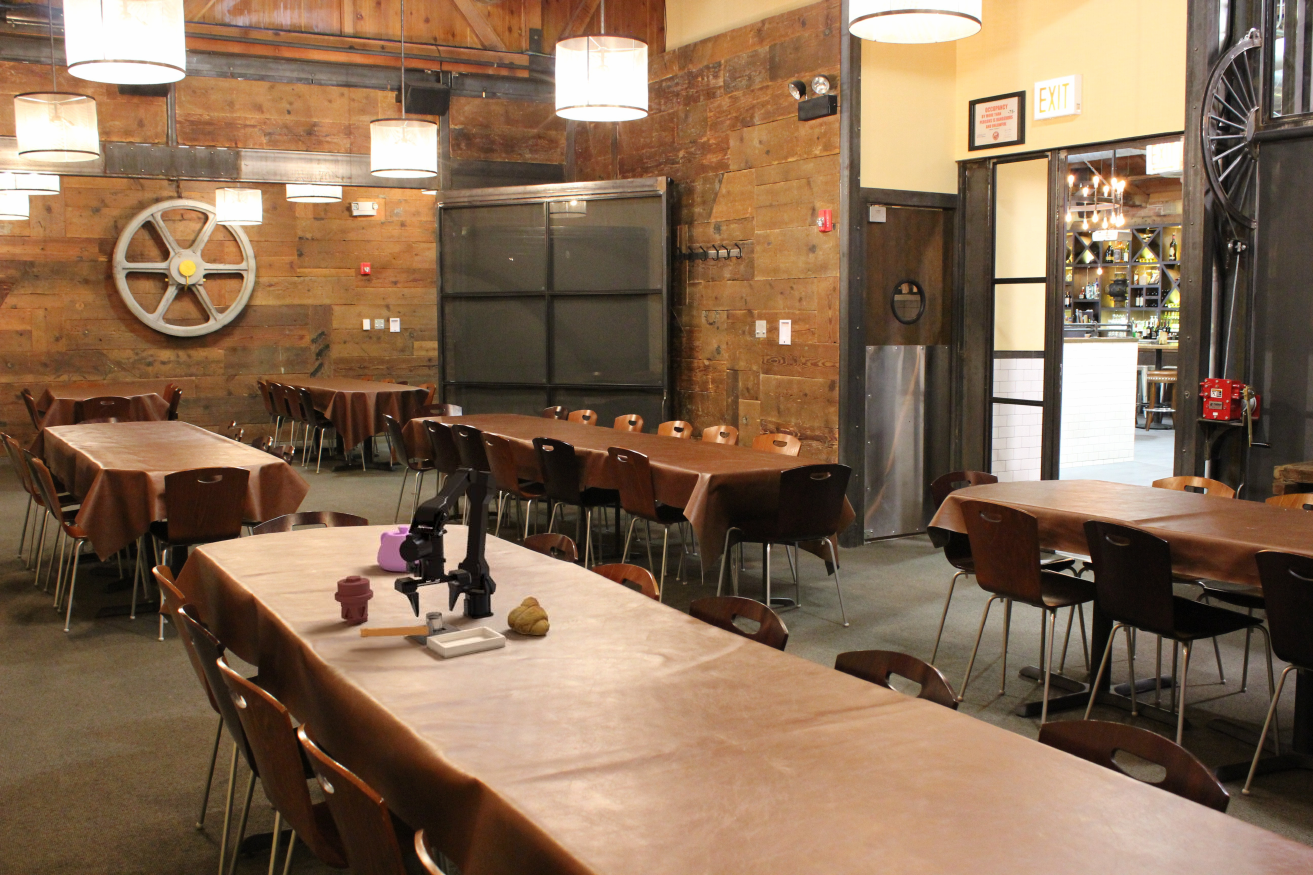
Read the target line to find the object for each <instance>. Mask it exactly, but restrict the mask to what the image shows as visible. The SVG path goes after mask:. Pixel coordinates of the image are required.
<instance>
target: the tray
mask: <svg viewBox="0 0 1313 875" xmlns="http://www.w3.org/2000/svg"><path fill="white" fill-rule="evenodd" d="M426 647H427V648H428V649H430V650H431V651H432V652H435V653H436V654H438V655H440V656H441V657H443V658H444V659H449V658H454V657H458V656H463V655H469V654H474V653H479V652H485V651H489V650H495V649H501V648H504V647H506V636H505V635H503V634H502V633H499V632H497V631H495V630H494V629H491V628H490V627H488V626H486V625H485V626H479V627H474V628H470V629H464V630H461V631H457V632H452V633H447V634H441V635H436V636H430V637H427V644H426Z"/></svg>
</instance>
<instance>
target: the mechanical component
mask: <svg viewBox="0 0 1313 875" xmlns="http://www.w3.org/2000/svg"><path fill="white" fill-rule="evenodd" d="M336 583H337V591H336V592H335V593H334V601H336V602H338V603H340V607H341V610H340V612H341V613H340V617H341V619H343V620H345V621H347V622H346V624H347V625H348V626H354V625H356V624H361V623H366V622H368V621H369V619H368V618H369V613H368V612H369V601H370V600H372V599H373V597H374V590H373V589H371V584H370V583H371V581H370V579H369V578H366V577H362V576H361V575H348V576H346V578H343V579H340V580H338V581H337V582H336Z"/></svg>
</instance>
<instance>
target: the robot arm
mask: <svg viewBox="0 0 1313 875" xmlns="http://www.w3.org/2000/svg"><path fill="white" fill-rule="evenodd" d="M497 486H498V477H496V475H495V473H494V472H493V471H480V470H475V469H473V468H469V467H468V468H466V467H459V468H457V469H455V471H454V474H453V475H452V476H451V478H449V480H448V481H447V482H446V484H444V486H443V487H442V488H441V489H440V490H439V492H438V493H437V494H436V495H435V496H434V497H432V498H430V499H429V498H428V499H427V500H425V501H423V502H422V503H421V504H419V506H418V507H417V508H416V509H415V512H414V515H413V517H412V521H411V524H410V526H409V529H408V530H409V531H408V533H410V534H407V535H406V540H404V541H403V542H402V543H401V545H400V548H399V553H400V556H401V557H402V559H403V560H404V561H406V572H405V573H406V574H407V575H413V577H410V576H406V577H399V578H398V577H397V578H396V579H395V581H394V584H393V585H394V590H395V591H397V592H399V593H401V594H403V595H404V596H406V598H407V599H408V601H409V603H410V605H411V608H412V610H413V611H412V612H413V613H414V616H415V617H416V618H419V617H420V593H419V591H417V590H418V589H419V587H424V586H425V587H427V586H432V585H439V584H444V583H447V587H448V610H449V611H450V612H453V611H454V608H455V606H456V603H457V602H458V599H459V597H460V595H461V594H464V599H463V612H462V614H463V615H465V616H466V617H469V618H471V619H472V620H473V619H478V618H483V617H490V616H494V615H495V614H494V612H492V603H491V602H492V601H491V599H492V595H494V594H495V592H496V591H497V590H496V589H497V583H496V582H495V581H494V579H493V578H492V577H491V575H490V570H491V569H490V566H489V563H488V561H487V558H486V556H485V554H486V542H487V541H486V540H487V531H488V530H487V527H488V514H489V505H490V503H491V501H493V499H494V497H495V496H496V491H497ZM464 493H465V495H466V498H467V500H468V501H469V515H468V517H469V518H468V530H467V540H466V541H467V542H466V554H465V557H464V559H463V560H462V562H459V563H457V569H451V570H448V573H447V574H446V573H445V564H446V563H447V558H445V551H444V548H445V546H444V544H445V543H444V535H445V534H448V530H447V529H446V528H445V526H446V524H447V522H448V521H449V519H450V517H451V511H450V510H451V509H452V508H453V506H454V505H455V504H456V503H457V501H458V500H459V499H460V498H461V496H462V495H463V494H464ZM424 527H427V528H424ZM417 560H419V563H416V564H415V561H417ZM415 578H418V579H415Z"/></svg>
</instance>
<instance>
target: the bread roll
mask: <svg viewBox="0 0 1313 875" xmlns="http://www.w3.org/2000/svg"><path fill="white" fill-rule="evenodd" d="M507 625H508V627H509V628H510V629H511V630H514V631H516V632H517V633H519V634H522V635H532V636H542V635H545V634H548V632H549V630H550V627H551V626H550V625H551V624H550V622H549V616H548V613H547V612H546V610H544V608H543V607H542V606H541V604H540V602H539V600H538V599H537V598H535V597H532V596H529V597H527V598H525V599H524V600H523V601H522V603H521V604H520V605H519V606H517V607H515V608H514V609H512V610H510V612H509V614H508V616H507Z"/></svg>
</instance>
